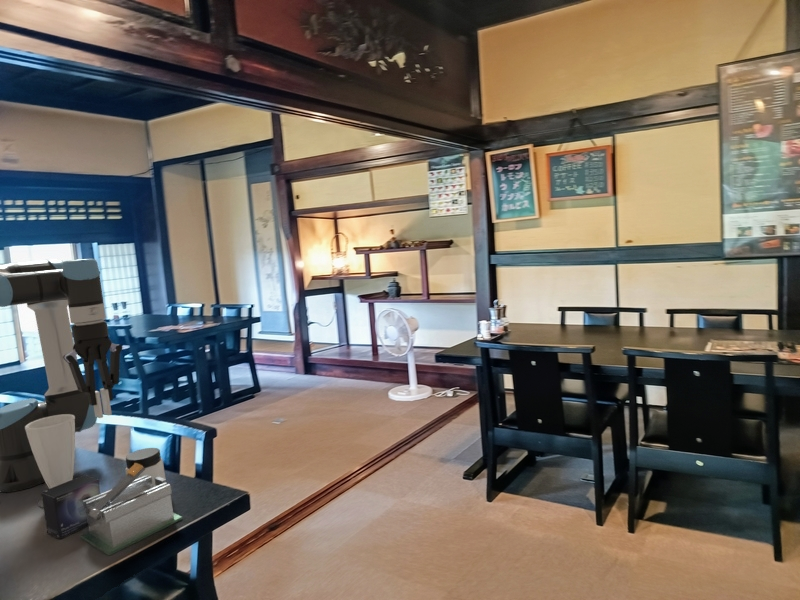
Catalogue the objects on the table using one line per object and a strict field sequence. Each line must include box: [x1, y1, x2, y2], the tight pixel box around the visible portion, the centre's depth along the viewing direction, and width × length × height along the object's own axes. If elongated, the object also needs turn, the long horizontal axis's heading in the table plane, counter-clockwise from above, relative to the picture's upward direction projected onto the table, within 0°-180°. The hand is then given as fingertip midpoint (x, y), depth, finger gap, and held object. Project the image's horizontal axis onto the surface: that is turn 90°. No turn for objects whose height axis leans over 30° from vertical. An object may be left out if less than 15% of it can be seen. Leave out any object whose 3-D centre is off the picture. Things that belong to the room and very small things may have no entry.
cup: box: [25, 414, 76, 509], centre depth 145 cm, size 12×12×22 cm
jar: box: [124, 447, 166, 487], centre depth 141 cm, size 9×8×12 cm
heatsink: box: [80, 475, 183, 556], centre depth 126 cm, size 14×17×9 cm
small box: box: [40, 474, 101, 540], centre depth 129 cm, size 11×6×10 cm, turn 148°
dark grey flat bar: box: [86, 463, 145, 520], centre depth 123 cm, size 14×4×2 cm, turn 142°
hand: (103, 415), depth 134 cm, fingers closed
